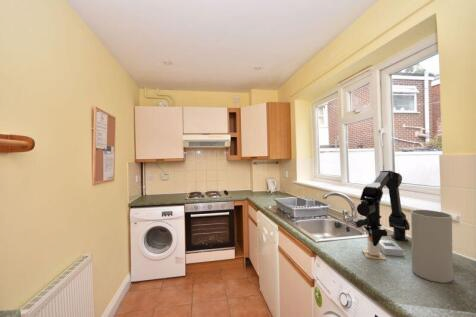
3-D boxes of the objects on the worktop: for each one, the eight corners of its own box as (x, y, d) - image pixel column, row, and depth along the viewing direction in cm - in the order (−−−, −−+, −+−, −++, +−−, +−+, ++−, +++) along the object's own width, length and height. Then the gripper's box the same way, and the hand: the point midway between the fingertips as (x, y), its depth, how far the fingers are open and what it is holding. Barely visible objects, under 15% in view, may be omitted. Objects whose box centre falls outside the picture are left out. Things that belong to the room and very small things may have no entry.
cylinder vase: (442, 270, 95) (442, 210, 95) (460, 286, 84) (459, 218, 83) (407, 265, 100) (406, 209, 99) (419, 280, 88) (418, 216, 87)
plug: (367, 251, 113) (367, 235, 112) (376, 252, 112) (376, 236, 111) (370, 254, 109) (369, 238, 109) (379, 255, 108) (379, 238, 108)
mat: (362, 251, 115) (362, 250, 115) (379, 252, 113) (379, 251, 113) (366, 258, 107) (366, 257, 107) (385, 259, 105) (385, 258, 105)
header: (376, 245, 122) (376, 239, 122) (393, 246, 120) (393, 240, 120) (384, 254, 111) (384, 248, 111) (403, 256, 109) (403, 249, 109)
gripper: (350, 207, 121) (350, 236, 121) (359, 216, 103) (360, 250, 103) (373, 208, 118) (374, 237, 118) (387, 217, 100) (388, 252, 100)
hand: (373, 244), depth 110 cm, fingers closed on plug, 4 cm apart
